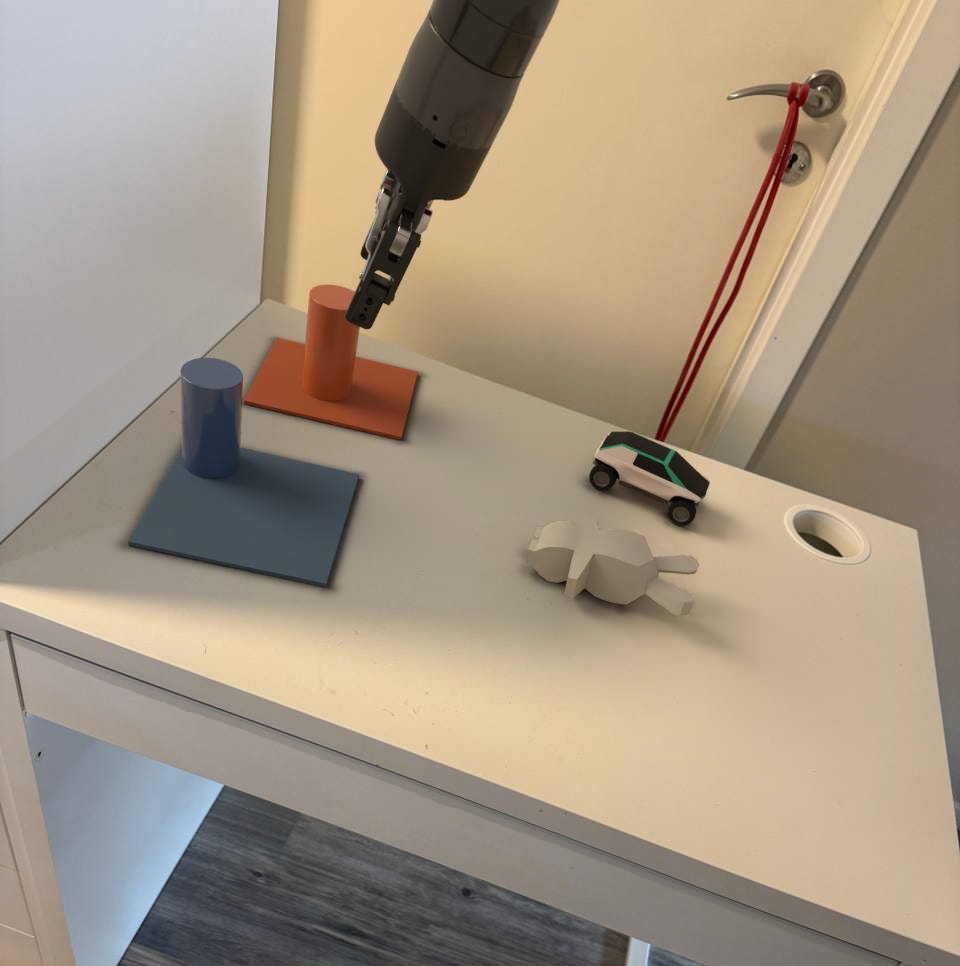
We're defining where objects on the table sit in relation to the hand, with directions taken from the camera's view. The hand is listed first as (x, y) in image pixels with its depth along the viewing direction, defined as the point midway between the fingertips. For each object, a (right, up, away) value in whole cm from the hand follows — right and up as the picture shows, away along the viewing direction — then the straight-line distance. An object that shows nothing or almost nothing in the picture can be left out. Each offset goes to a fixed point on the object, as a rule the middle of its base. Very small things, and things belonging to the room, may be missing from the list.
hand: (364, 290), depth 72 cm
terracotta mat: (-6, -2, +21) cm, 22 cm away
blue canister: (-15, -13, +7) cm, 21 cm away
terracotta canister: (-7, -2, +20) cm, 21 cm away
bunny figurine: (+21, -24, +8) cm, 33 cm away
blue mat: (-10, -17, +5) cm, 21 cm away
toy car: (+27, -13, +20) cm, 36 cm away
